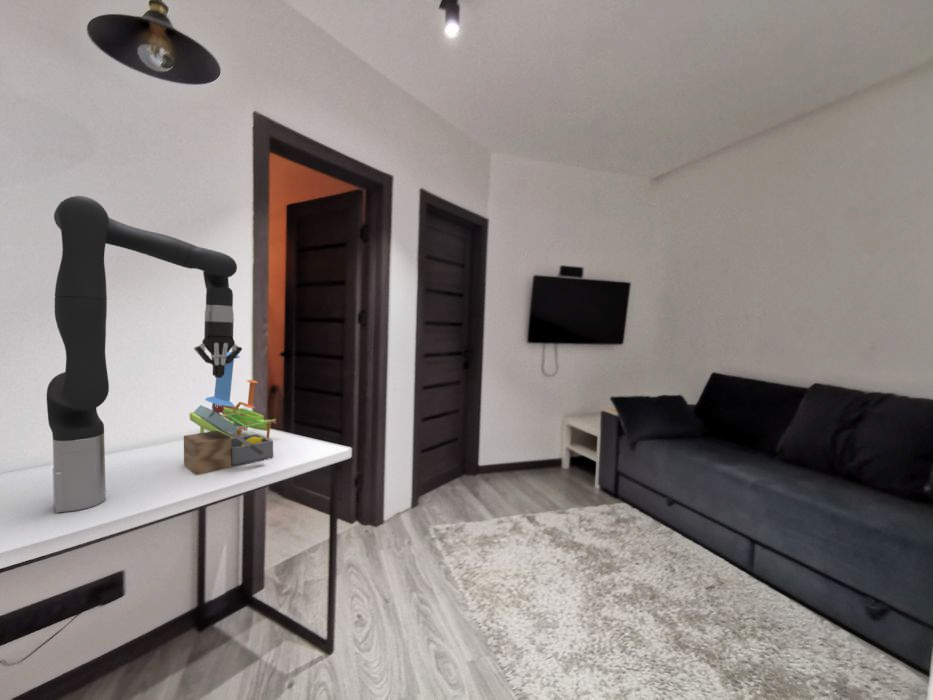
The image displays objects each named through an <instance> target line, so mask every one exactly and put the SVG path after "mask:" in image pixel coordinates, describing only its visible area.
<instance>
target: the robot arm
mask: <svg viewBox="0 0 933 700" xmlns="http://www.w3.org/2000/svg"><path fill="white" fill-rule="evenodd" d="M53 220H54V223H55V225H56V226H57V227H58V229H59V230H60V231H61V243H62V245H61V246H62V250H61V251H62V252H61V253H62V254H61V259H60V264H59V269H58V271H57V277H56V282H55V287H54V288H55V290H54V318H55V322H56V326H57V329H58V332H59V334H60V337H61V340H62V343H63V345H64V349H65V350H64V351H65V371H64V372H62V373H59V374H57V375H56V376H54V377H53V378H52V379H50V381H49V383H48V385H47V389H46V407H47V408H46V412H47V420H48V425H49V428H50V431H51V434H52V454H53V458H52V459H53V468H52V483H53V484H52V486H53V491H52V492H53V508H54V511H55V514H57V513H62V512H66V513H67V512H75V511H76V512H77V511H79V510H85V509H88V508H92V507H95V506H97V505H100V504H102V503H103V502H104V501H105V500H106V498H107V497H106V495H107V494H106V492H107V491H106V458H105V457H106V452H105V450H106V449H105V446H106V445H105V425H104V424H105V423H104V422H103V421H102V419H101V418H100V417H99V414H98V410H97V408H98V407H100V406H101V405H102V404H103V403H105V401H106V399H107V397H108V396H109V392H110V385H109V383H110V381H109V375H108V368H107V366H108V365H107V359H106V358H107V357H106V339H107V338H106V337H107V313H108V312H107V311H108V309H107V308H108V301H107V300H108V296H107V295H108V294H107V278H106V275H107V274H106V268H105V266H106V265H105V251H106V245H110V246H116V247H118V248H119V247H120V248H122V249H126V250H131V251H134V252H137V253H140V254H143V255H146V256H149V257H151V258H155V259H159V260H161V261H164V262H167V263H170V264H173V265H176V266H179V267H182V268H186V269H191V270H192V269H195V270H199V271H202V272H203V273H202V274H203V279H204V280H203V281H204V285H205V289H206V293H205V310H204V331H203V332H204V338H203V340H202V343H201V344H200V345H198V346H195V347H193V349H194V351H195V352H196V353H197V354H198V355H199V357H201V359H202V360H203V361H204V362H205V363H206V364H210V365H211V366H212V376H214V378H215V379H216V378H222V376H224V371H225V364H228V363H231V362H232V361H233V360H234V361H235V359H236V358H235V357H236V356H237V355H239V354H240V353H241V352H242V350H243V348H242V347H241V346H238V344H236V343H235V340H234V321H235V318H234V307H233V306H234V293H233V289H231V287H230V285H229V278H230V277H232V276H234V275H235V274H236V273H237V269H238V265H237V263H236V260H235V259H234V258H233V257H231V256H230V255H228V254H226V253H223V252H220V251H216V250H213V249H208V248H204V247H201V246H197V245H195V244H193V243H190V242H187V241H185V240H184V241H183V240H181V239H180V238H176V237H173V236H170V235H168V234H167V235H166V234H163V233H158V232H154V231H150V230H145V229H141V228H138V227H135V226H131V225H128V224H125V223H122V222H120V221H118V220H116V219H113V218H111V217H109V215H108V213H107V210H106V209H105V208H104V207H103V206H102V204H100V203H99V202H98V201H96V200H95V199H93V198H90V197H88V196H83V195H76V196H75V195H74V196H70V197H68V198H65V199H64V200H62V201H60V203H59V204H58V205H57V207H56V209H55V211H54V214H53ZM206 351H208V353H210V356H209V355H208V354H207V352H206ZM229 351H230V352H231V353H230V355H229V356H228V357H227V358H226V356H227V353H228V352H229ZM234 358H235V359H234Z"/></svg>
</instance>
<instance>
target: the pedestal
mask: <svg viewBox="0 0 933 700" xmlns="http://www.w3.org/2000/svg"><path fill="white" fill-rule="evenodd" d="M183 466H184V467H186V469H187V470H189V471H190V472H191V473H193V475H195V476H199V475H202V474H203V475H204V474H208V473H213V472H217V471H221V470H225V469H230V468H232V466H231V437H229V436H227V435H225V434H223V433H221V432H219V431H211V432H210V431H206V432H205V431H204V433H200V432H198V433H192V434H187V435H184V436H183Z"/></svg>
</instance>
